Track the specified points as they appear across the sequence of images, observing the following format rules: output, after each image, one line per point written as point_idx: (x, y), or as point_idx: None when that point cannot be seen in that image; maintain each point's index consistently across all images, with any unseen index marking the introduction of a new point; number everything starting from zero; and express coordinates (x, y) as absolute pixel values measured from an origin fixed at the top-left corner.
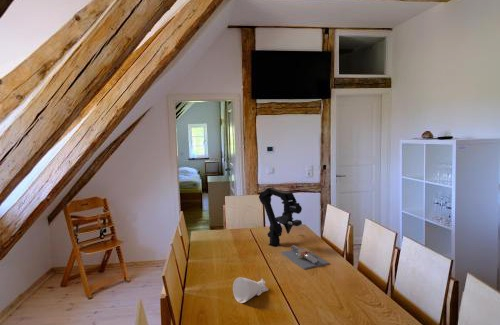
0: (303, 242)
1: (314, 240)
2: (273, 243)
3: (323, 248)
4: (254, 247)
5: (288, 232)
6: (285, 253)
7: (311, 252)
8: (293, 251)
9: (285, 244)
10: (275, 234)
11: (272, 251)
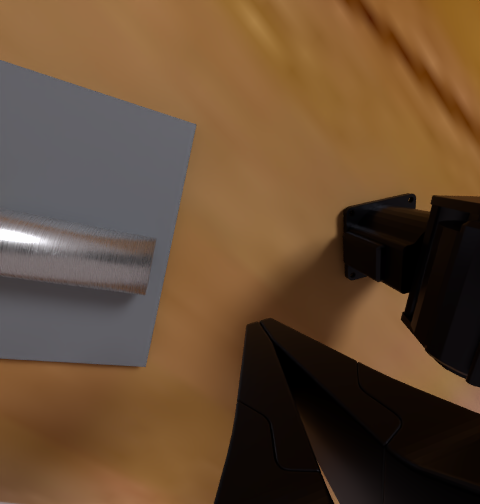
0: None
1: None
2: (382, 213)
3: (70, 477)
4: (468, 48)
5: (245, 342)
6: (134, 130)
7: (2, 355)
8: None
9: (320, 308)
10: (444, 227)
11: (291, 103)
